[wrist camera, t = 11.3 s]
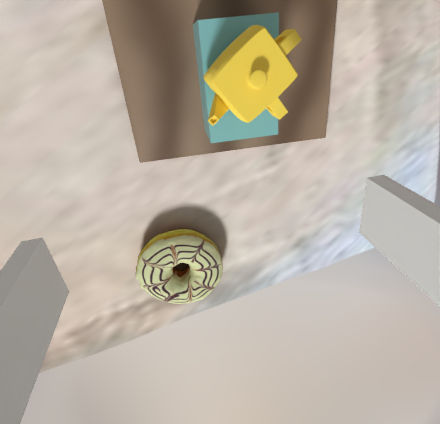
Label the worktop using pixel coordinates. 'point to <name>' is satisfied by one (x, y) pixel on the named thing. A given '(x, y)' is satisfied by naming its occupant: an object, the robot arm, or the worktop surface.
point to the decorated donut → (174, 254)
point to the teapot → (252, 74)
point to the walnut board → (189, 80)
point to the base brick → (207, 54)
